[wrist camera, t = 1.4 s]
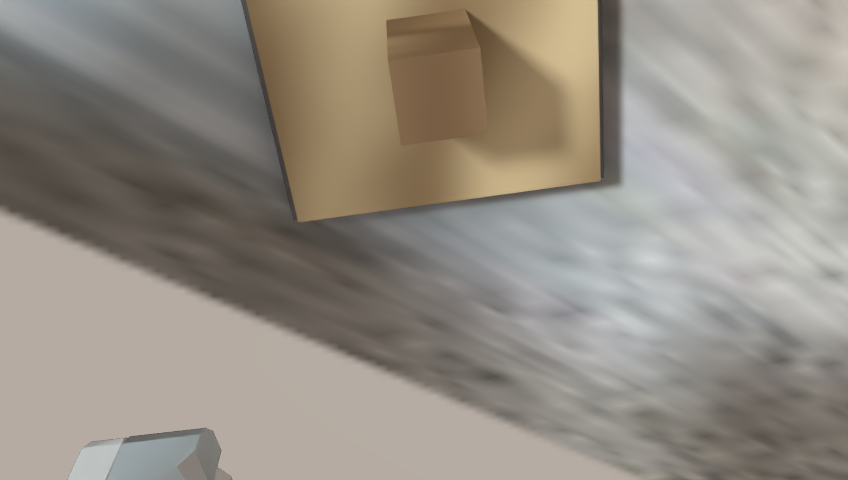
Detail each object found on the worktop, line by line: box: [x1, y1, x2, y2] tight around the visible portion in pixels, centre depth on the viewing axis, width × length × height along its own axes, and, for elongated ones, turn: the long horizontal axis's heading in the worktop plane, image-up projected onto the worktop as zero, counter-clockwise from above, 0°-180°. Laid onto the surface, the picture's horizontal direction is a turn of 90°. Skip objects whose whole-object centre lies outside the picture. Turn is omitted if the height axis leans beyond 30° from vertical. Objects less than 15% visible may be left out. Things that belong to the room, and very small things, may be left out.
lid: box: [246, 0, 601, 222], centre depth 23 cm, size 10×10×5 cm
